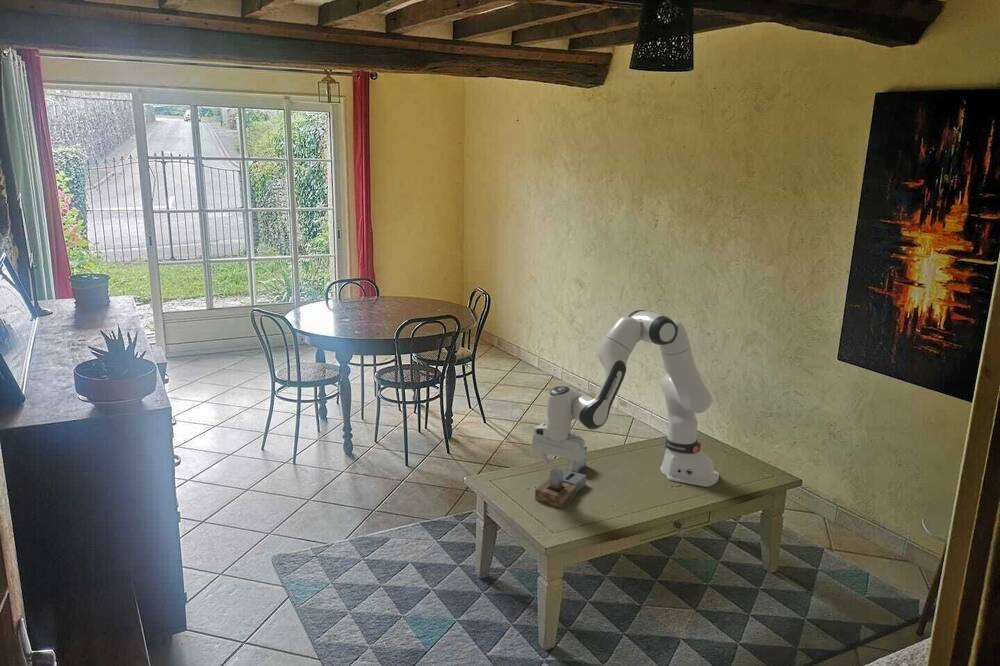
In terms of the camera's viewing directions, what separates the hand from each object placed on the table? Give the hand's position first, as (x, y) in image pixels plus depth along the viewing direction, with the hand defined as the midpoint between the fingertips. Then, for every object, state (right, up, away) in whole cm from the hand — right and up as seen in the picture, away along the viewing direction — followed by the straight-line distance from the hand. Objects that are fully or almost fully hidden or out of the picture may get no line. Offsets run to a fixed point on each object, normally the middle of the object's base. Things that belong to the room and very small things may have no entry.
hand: (557, 466), depth 258 cm
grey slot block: (+6, -10, +12) cm, 16 cm away
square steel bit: (0, -11, +3) cm, 12 cm away
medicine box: (+10, -6, +28) cm, 30 cm away
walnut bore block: (0, -12, +3) cm, 12 cm away
